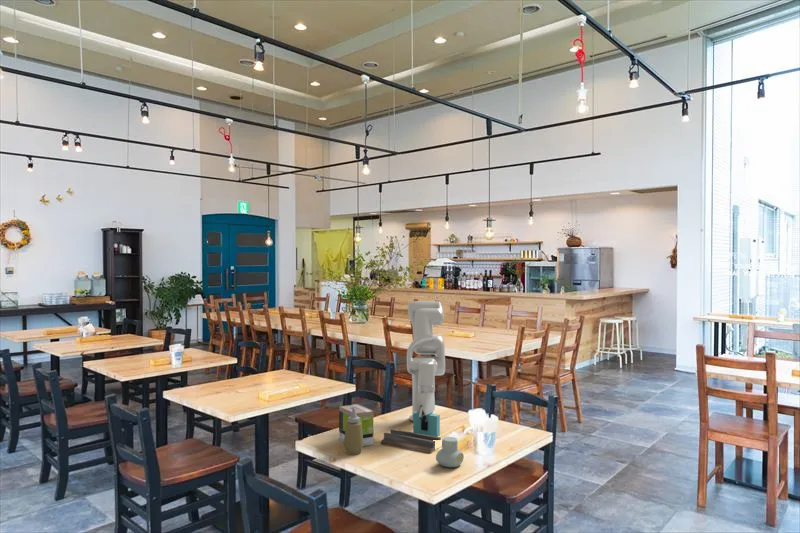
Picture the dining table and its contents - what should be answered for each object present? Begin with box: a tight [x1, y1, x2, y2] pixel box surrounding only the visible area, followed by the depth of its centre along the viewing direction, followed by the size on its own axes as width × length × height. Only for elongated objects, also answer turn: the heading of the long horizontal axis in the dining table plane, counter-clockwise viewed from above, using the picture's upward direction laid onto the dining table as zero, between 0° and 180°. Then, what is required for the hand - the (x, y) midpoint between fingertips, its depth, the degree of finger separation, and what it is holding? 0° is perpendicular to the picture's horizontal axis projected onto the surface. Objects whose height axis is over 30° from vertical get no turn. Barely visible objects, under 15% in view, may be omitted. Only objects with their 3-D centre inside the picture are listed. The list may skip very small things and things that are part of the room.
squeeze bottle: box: [343, 408, 364, 455], centre depth 217 cm, size 8×8×18 cm
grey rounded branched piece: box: [435, 436, 464, 468], centre depth 203 cm, size 11×8×10 cm
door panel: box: [412, 411, 441, 437], centre depth 239 cm, size 3×12×10 cm, turn 61°
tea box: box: [338, 403, 375, 447], centre depth 230 cm, size 15×10×15 cm, turn 32°
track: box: [380, 428, 442, 454], centre depth 227 cm, size 12×24×4 cm, turn 61°
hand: (426, 428), depth 239 cm, fingers closed on door panel, 3 cm apart
